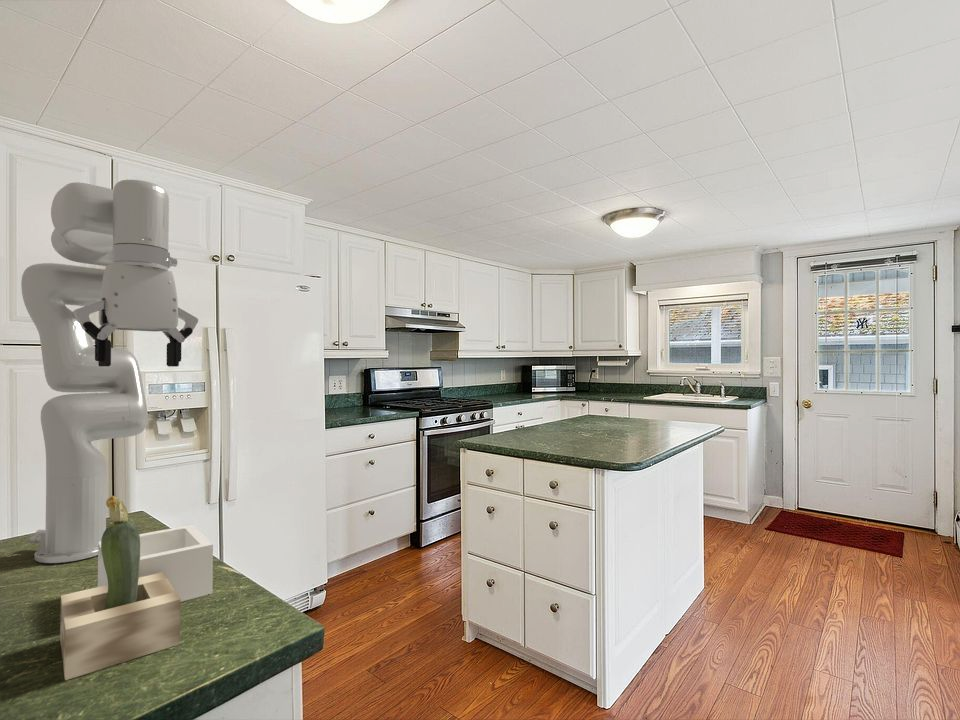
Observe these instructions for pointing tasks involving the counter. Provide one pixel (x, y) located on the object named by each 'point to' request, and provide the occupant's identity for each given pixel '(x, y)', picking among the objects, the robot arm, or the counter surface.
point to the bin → (174, 560)
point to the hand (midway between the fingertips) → (140, 366)
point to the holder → (117, 626)
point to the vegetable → (120, 556)
